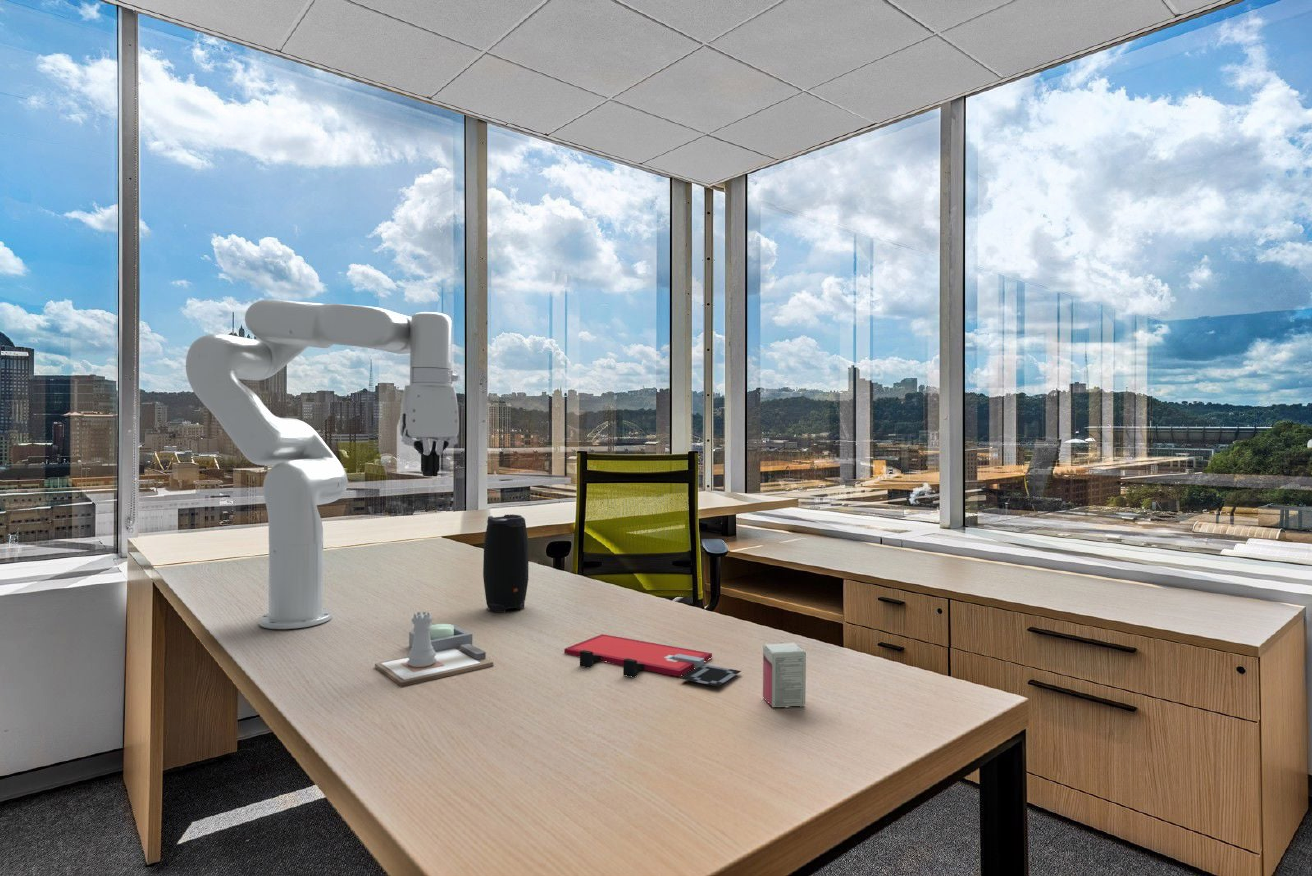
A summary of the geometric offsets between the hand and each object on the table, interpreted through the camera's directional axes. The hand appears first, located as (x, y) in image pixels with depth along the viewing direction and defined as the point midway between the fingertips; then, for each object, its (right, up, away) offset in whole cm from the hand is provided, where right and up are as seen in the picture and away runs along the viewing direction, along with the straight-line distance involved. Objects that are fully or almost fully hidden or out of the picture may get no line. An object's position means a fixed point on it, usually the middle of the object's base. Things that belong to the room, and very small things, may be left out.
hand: (430, 475), depth 136 cm
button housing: (+5, -29, -11) cm, 32 cm away
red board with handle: (+42, -31, -18) cm, 55 cm away
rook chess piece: (+6, -29, -22) cm, 37 cm away
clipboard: (+7, -30, -21) cm, 37 cm away
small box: (+61, -31, -34) cm, 76 cm away
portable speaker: (+11, -29, +17) cm, 35 cm away
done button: (+5, -29, -11) cm, 31 cm away
